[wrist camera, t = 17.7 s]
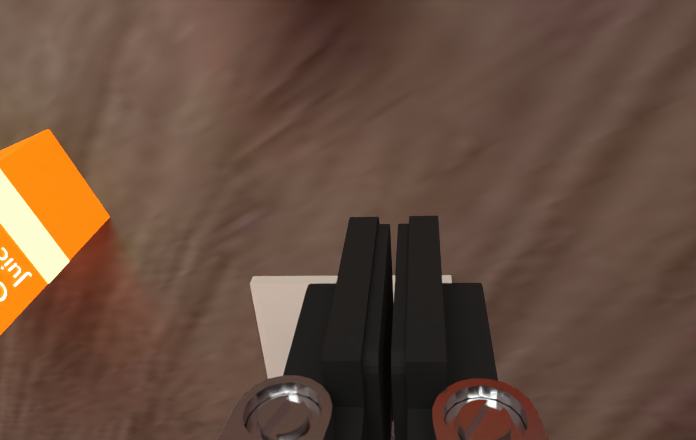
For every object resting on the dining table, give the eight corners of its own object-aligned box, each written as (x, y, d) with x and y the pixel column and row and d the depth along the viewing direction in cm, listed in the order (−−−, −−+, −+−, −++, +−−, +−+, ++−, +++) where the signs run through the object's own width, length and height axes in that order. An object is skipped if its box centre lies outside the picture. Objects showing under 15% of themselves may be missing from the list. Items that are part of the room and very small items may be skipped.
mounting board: (451, 275, 44) (451, 283, 43) (449, 419, 51) (450, 428, 50) (253, 276, 46) (249, 283, 45) (278, 415, 53) (276, 424, 52)
